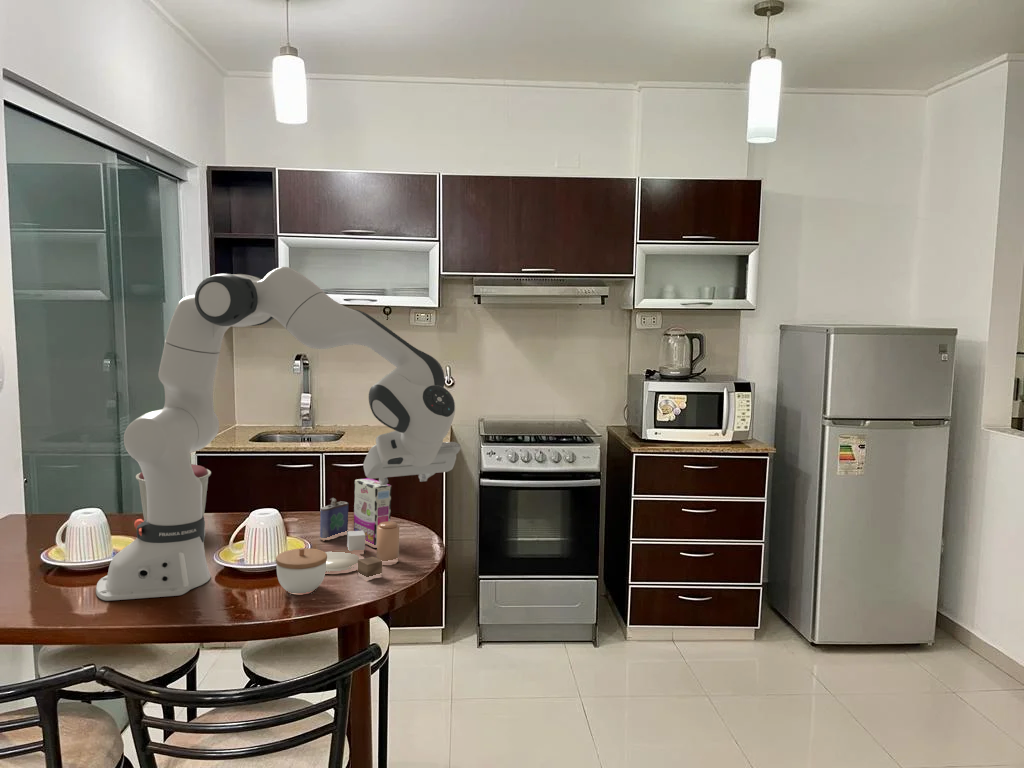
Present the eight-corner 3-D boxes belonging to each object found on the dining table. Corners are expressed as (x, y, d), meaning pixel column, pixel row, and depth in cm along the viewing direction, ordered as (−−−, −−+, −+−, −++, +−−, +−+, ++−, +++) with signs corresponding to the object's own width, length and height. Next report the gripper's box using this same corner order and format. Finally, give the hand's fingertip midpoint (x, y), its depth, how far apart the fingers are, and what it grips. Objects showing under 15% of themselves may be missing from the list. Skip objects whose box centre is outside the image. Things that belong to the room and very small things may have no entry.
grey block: (348, 555, 182) (349, 536, 182) (347, 550, 186) (347, 531, 186) (364, 554, 184) (365, 535, 183) (362, 549, 187) (363, 530, 187)
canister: (159, 523, 203) (158, 448, 201) (222, 526, 203) (222, 451, 201) (122, 543, 185) (120, 462, 183) (191, 546, 185) (191, 465, 183)
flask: (324, 542, 192) (324, 502, 191) (316, 540, 193) (317, 500, 192) (350, 534, 199) (350, 496, 198) (342, 532, 201) (343, 494, 200)
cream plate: (313, 578, 166) (313, 573, 166) (300, 559, 178) (300, 554, 178) (372, 569, 173) (372, 565, 173) (356, 552, 185) (356, 547, 185)
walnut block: (367, 581, 165) (367, 564, 165) (357, 576, 168) (357, 560, 168) (381, 577, 168) (382, 561, 168) (372, 572, 171) (372, 556, 171)
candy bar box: (391, 546, 191) (392, 484, 189) (374, 549, 187) (375, 487, 186) (368, 535, 199) (369, 476, 197) (352, 538, 195) (353, 479, 194)
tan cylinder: (380, 567, 175) (381, 528, 174) (373, 560, 180) (374, 522, 179) (401, 564, 178) (402, 525, 177) (394, 557, 182) (395, 519, 181)
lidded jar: (274, 601, 152) (274, 558, 151) (276, 582, 163) (277, 542, 162) (327, 598, 155) (327, 555, 154) (326, 579, 165) (326, 539, 165)
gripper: (459, 430, 161) (441, 465, 171) (369, 436, 152) (356, 472, 161) (467, 453, 158) (448, 488, 167) (376, 461, 148) (362, 497, 158)
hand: (402, 480), depth 164 cm, fingers open, 8 cm apart
